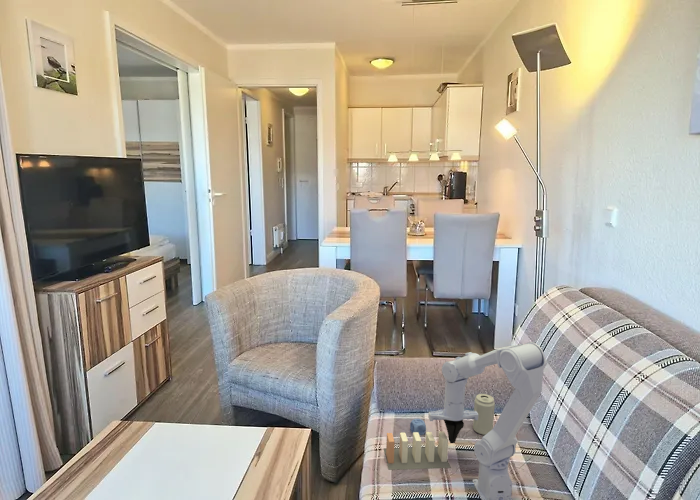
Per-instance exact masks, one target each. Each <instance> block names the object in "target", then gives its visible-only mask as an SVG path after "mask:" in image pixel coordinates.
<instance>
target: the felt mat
mask: <svg viewBox="0 0 700 500" xmlns="http://www.w3.org/2000/svg"><path fill="white" fill-rule="evenodd" d="M383 453H384V457H385V463H386V466H387V469H388V470H389V471H393V470H396V471H397V470H427V469H431V470H432V469H451V468H452V467H451V465H450V462H449V460H448V459H447V462H442V461H441V459H440V457H439V454H438V446H435V449H434V462H428V460H427V457H426V454H425V446H421V462H419V463H415V461H414V458H413V455H412V447H408V455H407V463H402V462H401V459H400V455H399V447H394V463H388V460H387V456H386V448H383Z"/></svg>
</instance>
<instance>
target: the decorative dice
mask: <svg viewBox="0 0 700 500" xmlns="http://www.w3.org/2000/svg"><path fill="white" fill-rule="evenodd" d="M409 428H410V432H411V433H412V434H413V432H418V433H419V436H424V435H425V434H426V432H427V426H426V423H425V421H424V420H423V419H421V418H414V419H412V420H411V421H410V423H409Z"/></svg>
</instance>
